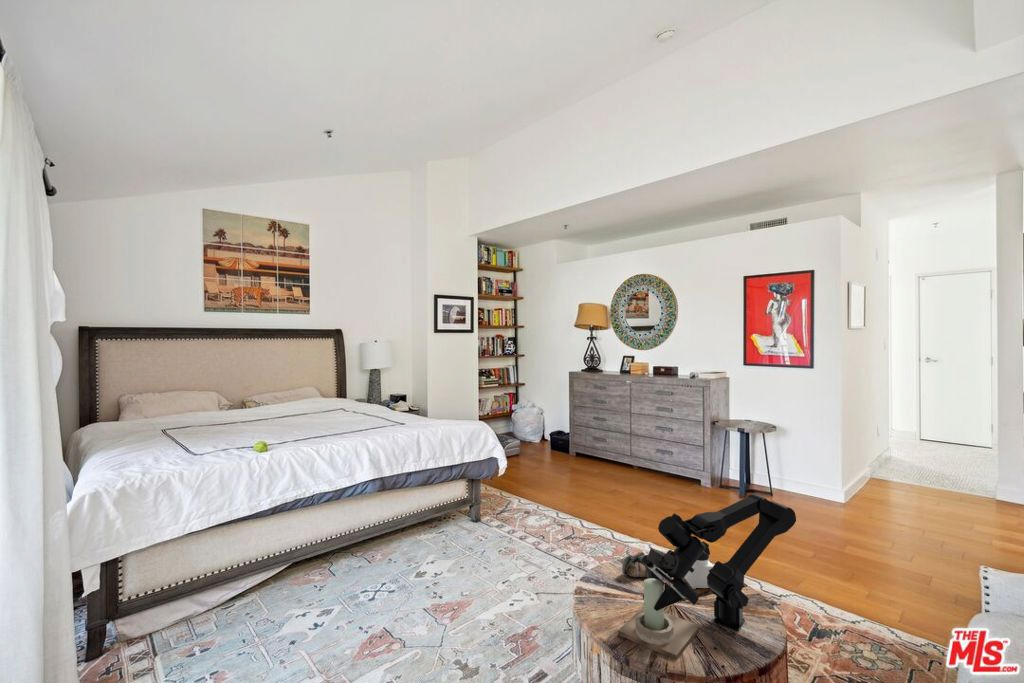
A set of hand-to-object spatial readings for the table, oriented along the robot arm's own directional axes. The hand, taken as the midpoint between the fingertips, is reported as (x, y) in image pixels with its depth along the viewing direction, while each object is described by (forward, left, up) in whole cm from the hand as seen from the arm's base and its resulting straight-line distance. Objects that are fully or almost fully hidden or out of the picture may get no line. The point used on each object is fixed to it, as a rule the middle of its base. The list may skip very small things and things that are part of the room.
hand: (649, 604), depth 126 cm
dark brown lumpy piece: (+17, -30, -9) cm, 36 cm away
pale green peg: (-1, -1, -7) cm, 7 cm away
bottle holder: (-1, -4, -9) cm, 10 cm away
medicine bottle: (0, -37, -9) cm, 38 cm away
